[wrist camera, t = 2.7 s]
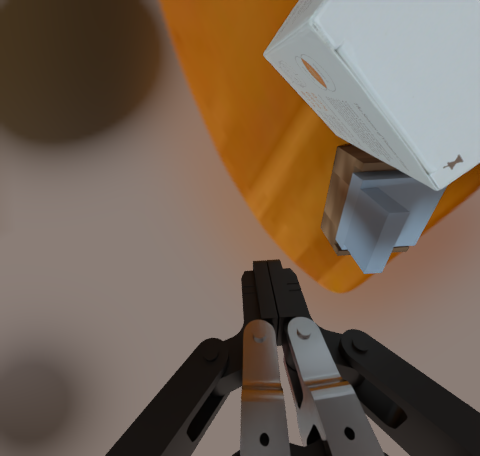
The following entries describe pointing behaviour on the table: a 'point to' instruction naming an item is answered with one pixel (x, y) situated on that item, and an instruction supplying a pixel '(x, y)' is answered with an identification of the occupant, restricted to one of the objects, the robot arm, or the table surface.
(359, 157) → the case
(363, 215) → the lid
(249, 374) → the robot arm
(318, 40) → the small box
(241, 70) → the table surface
